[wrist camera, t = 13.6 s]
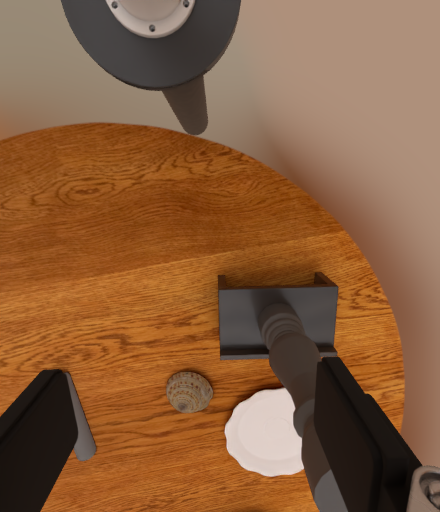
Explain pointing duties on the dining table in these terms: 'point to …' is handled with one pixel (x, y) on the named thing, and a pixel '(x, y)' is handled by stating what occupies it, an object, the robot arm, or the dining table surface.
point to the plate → (265, 434)
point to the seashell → (188, 392)
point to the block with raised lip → (259, 297)
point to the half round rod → (81, 428)
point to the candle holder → (300, 395)
